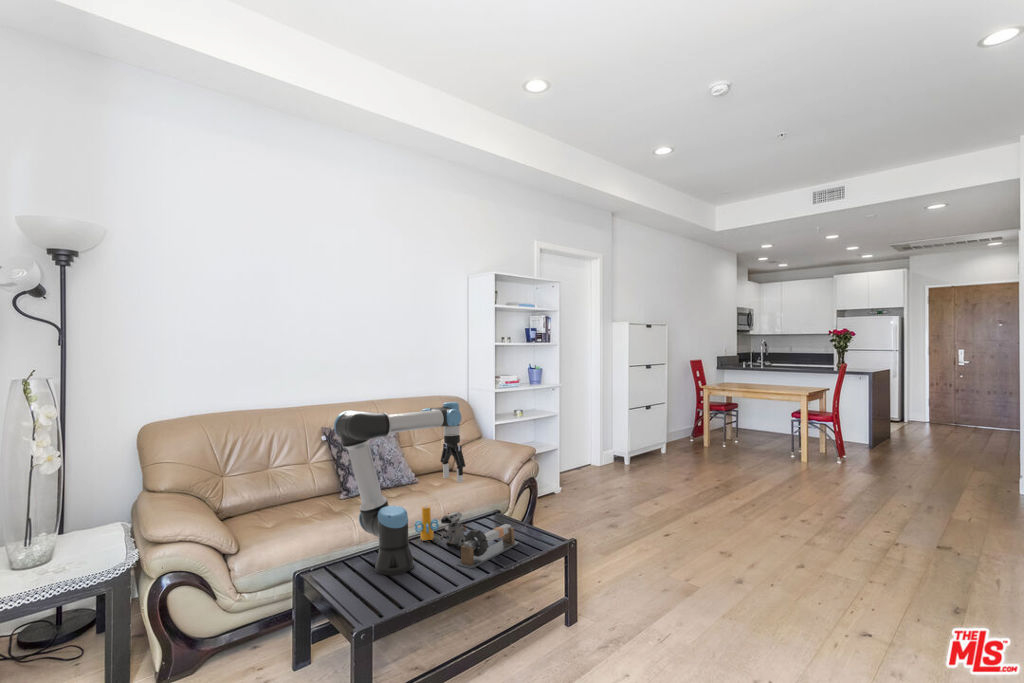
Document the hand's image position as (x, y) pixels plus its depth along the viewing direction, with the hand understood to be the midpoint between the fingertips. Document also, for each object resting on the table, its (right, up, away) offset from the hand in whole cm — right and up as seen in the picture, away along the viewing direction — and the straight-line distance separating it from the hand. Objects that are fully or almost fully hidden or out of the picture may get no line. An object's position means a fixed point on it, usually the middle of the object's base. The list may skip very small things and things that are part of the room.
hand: (452, 480), depth 244 cm
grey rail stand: (+18, -24, -26) cm, 40 cm away
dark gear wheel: (+14, -22, -32) cm, 41 cm away
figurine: (+2, -26, -16) cm, 31 cm away
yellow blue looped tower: (-12, -27, -4) cm, 30 cm away
